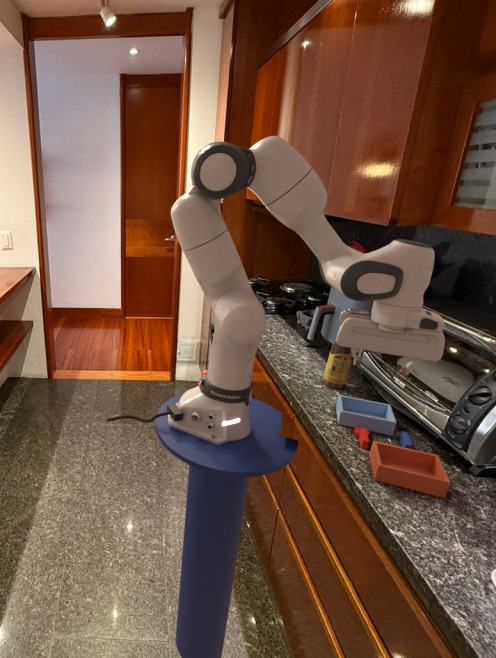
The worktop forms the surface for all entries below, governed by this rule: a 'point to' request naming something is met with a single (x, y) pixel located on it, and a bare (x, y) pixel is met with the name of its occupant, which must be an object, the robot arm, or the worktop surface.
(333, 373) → the sauce bottle
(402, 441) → the blue spoon
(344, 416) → the blue bin
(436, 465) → the terracotta bin
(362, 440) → the red spoon
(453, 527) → the worktop surface
